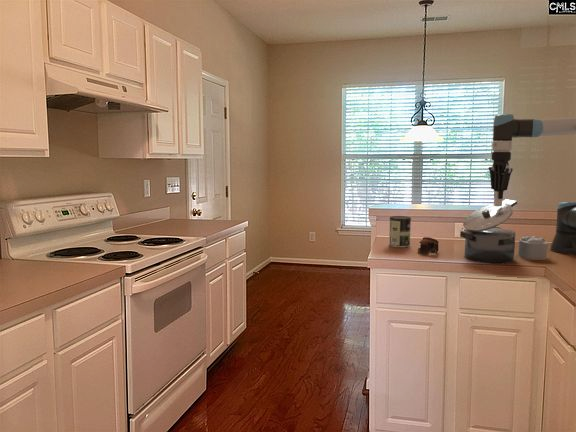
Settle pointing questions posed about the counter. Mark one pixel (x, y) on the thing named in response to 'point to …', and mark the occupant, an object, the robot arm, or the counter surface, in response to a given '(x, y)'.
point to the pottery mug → (428, 245)
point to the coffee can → (399, 231)
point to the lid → (489, 216)
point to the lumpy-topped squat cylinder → (533, 248)
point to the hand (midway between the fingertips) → (497, 206)
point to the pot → (489, 245)
